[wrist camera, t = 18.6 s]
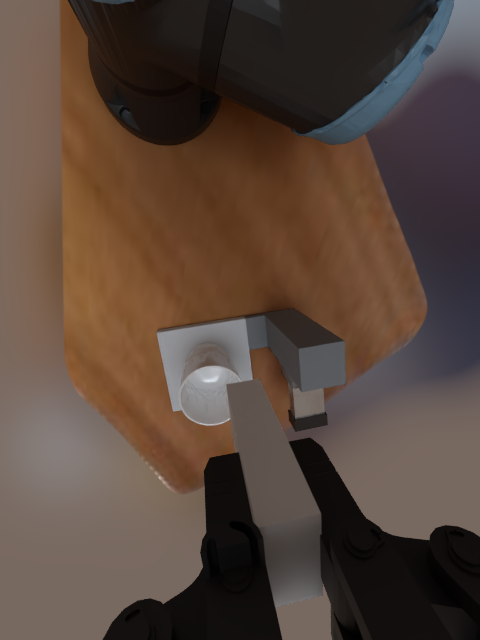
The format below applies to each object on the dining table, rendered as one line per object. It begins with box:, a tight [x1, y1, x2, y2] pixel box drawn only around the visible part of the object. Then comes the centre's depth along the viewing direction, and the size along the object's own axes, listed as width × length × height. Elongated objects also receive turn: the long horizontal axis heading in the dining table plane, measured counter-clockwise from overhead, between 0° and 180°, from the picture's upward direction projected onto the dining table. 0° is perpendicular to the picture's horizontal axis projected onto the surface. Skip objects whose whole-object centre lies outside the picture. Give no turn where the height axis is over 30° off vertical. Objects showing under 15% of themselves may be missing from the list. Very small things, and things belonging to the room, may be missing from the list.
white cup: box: [178, 343, 242, 426], centre depth 39 cm, size 8×8×10 cm
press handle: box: [280, 363, 327, 432], centre depth 39 cm, size 8×4×5 cm, turn 7°
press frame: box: [157, 308, 346, 412], centre depth 38 cm, size 13×21×16 cm, turn 97°
